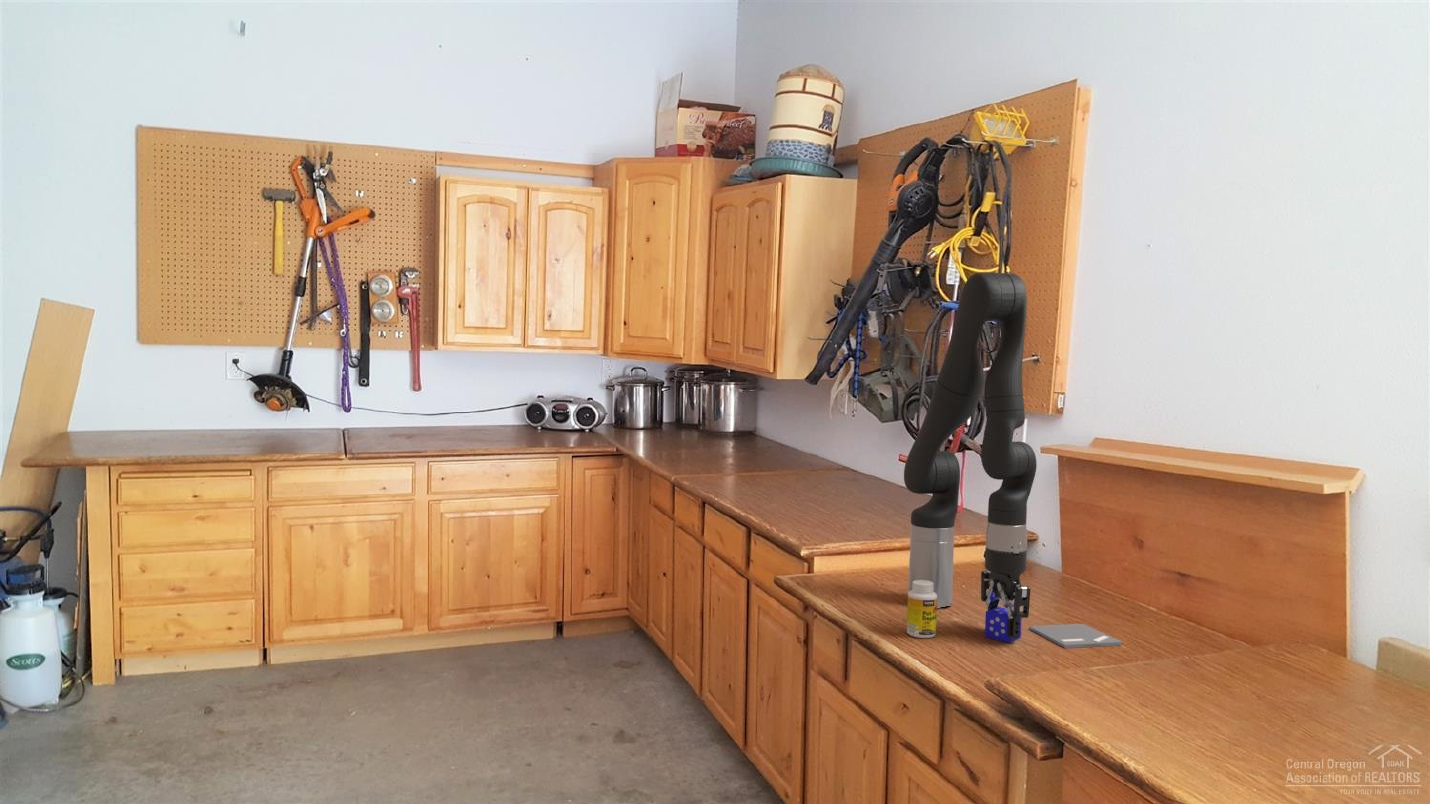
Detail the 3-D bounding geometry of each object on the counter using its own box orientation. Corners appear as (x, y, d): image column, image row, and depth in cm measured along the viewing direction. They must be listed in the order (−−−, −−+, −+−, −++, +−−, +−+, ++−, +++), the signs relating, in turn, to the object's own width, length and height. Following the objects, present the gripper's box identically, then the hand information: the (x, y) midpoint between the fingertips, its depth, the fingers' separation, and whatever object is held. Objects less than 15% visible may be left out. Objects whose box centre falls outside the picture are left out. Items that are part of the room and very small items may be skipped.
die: (997, 632, 177) (997, 606, 177) (1021, 637, 173) (1022, 612, 173) (984, 637, 173) (985, 611, 173) (1009, 643, 170) (1009, 616, 170)
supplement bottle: (921, 641, 170) (923, 587, 170) (900, 633, 175) (901, 580, 174) (942, 636, 173) (944, 583, 173) (920, 629, 178) (922, 577, 177)
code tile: (1029, 629, 179) (1029, 625, 179) (1082, 626, 181) (1083, 623, 181) (1065, 648, 167) (1065, 644, 167) (1122, 645, 170) (1122, 641, 170)
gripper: (969, 539, 179) (966, 622, 179) (1008, 554, 165) (1005, 644, 165) (1004, 538, 180) (1001, 621, 181) (1045, 553, 166) (1042, 642, 167)
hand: (1003, 632), depth 173 cm, fingers closed on die, 7 cm apart
